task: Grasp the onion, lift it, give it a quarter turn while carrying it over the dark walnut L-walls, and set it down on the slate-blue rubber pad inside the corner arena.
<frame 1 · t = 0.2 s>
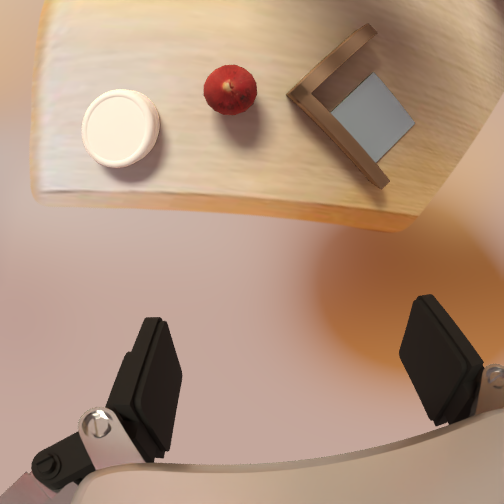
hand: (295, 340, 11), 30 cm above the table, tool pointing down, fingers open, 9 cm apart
coaster: (125, 126, 35), on the table
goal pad: (373, 118, 35), on the table
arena: (366, 104, 34), on the table
onion: (231, 92, 33), on the table
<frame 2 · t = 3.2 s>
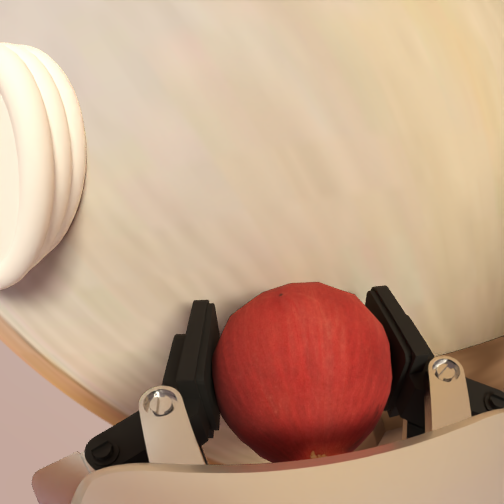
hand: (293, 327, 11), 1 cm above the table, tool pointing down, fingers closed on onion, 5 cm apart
coaster: (6, 155, 10), on the table
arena: (423, 420, 18), on the table
onion: (288, 303, 13), on the table, touching gripper
when the fingers open (2 cm above the table, at t = 9.1 s): onion stays where it is, resting on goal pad.
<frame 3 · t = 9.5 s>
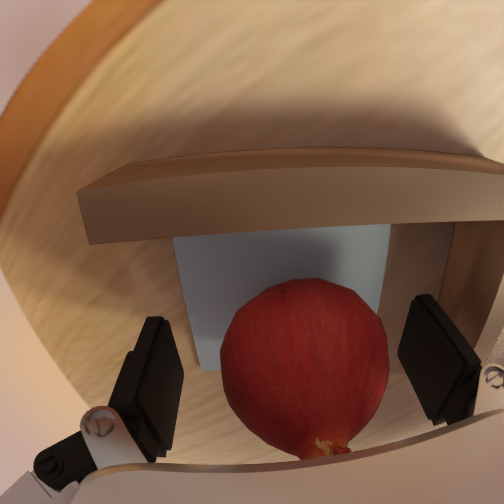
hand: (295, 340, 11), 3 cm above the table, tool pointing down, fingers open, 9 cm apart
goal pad: (286, 293, 14), on the table
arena: (329, 299, 14), on the table
onion: (289, 296, 13), resting on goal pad
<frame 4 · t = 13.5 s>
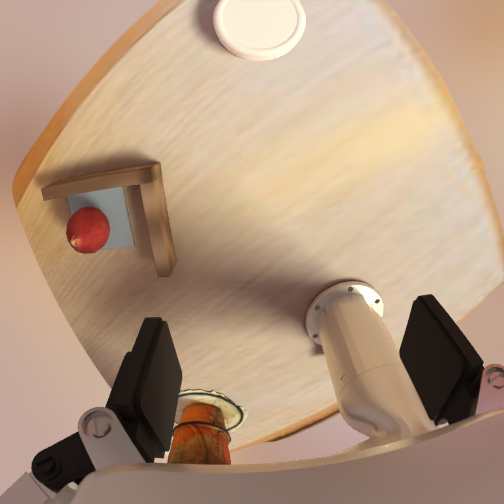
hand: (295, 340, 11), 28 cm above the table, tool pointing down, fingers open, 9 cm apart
coaster: (258, 24, 28), on the table
decorative vase: (204, 413, 57), on the table
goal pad: (99, 218, 38), on the table
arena: (112, 220, 38), on the table
onion: (100, 219, 38), resting on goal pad
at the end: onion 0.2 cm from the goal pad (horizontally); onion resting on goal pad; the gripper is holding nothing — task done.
